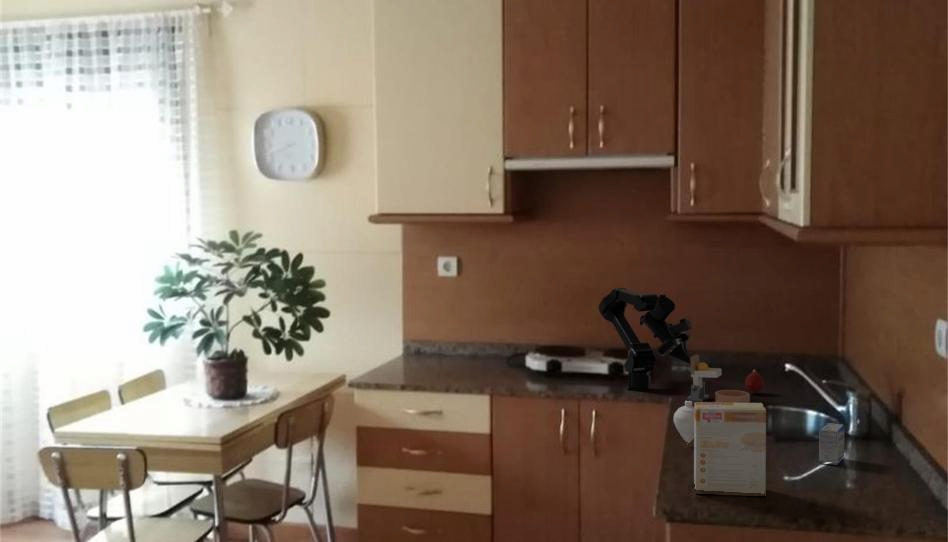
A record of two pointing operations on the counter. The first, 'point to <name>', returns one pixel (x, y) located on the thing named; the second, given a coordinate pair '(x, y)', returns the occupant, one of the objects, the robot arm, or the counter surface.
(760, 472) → the coffeecake box
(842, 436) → the medicine box
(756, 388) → the onion
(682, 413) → the spinning top
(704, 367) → the ball
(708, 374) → the lever chute
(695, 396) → the stand
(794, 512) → the counter surface
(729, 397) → the pinkish brown round bowl
